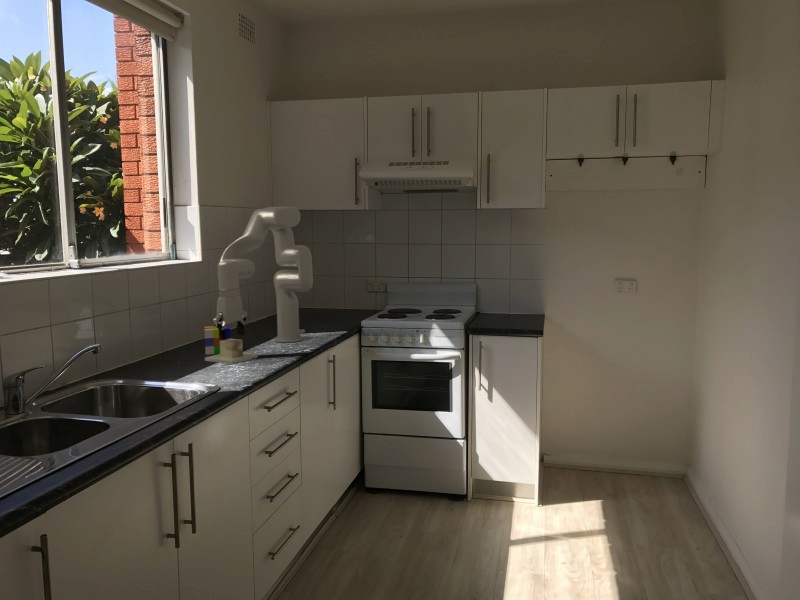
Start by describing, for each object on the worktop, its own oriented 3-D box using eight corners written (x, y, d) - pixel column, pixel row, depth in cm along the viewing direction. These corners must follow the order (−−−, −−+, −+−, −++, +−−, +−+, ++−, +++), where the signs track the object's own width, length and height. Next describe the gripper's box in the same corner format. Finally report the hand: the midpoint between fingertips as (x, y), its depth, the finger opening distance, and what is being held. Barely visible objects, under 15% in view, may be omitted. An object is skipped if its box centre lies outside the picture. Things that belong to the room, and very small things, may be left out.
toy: (205, 354, 270) (204, 330, 269) (205, 350, 279) (204, 326, 278) (231, 353, 272) (230, 328, 271) (230, 349, 282) (229, 325, 281)
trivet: (231, 354, 270) (231, 351, 270) (257, 357, 263) (257, 354, 263) (205, 360, 258) (204, 357, 258) (232, 364, 251) (232, 360, 251)
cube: (231, 353, 264) (230, 338, 264) (242, 355, 261) (242, 339, 261) (220, 356, 259) (219, 341, 258) (232, 357, 256) (231, 342, 255)
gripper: (237, 290, 267) (240, 332, 269) (205, 295, 252) (208, 340, 254) (252, 290, 263) (254, 333, 266) (220, 296, 248) (222, 342, 251)
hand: (231, 337), depth 260 cm, fingers open, 9 cm apart
